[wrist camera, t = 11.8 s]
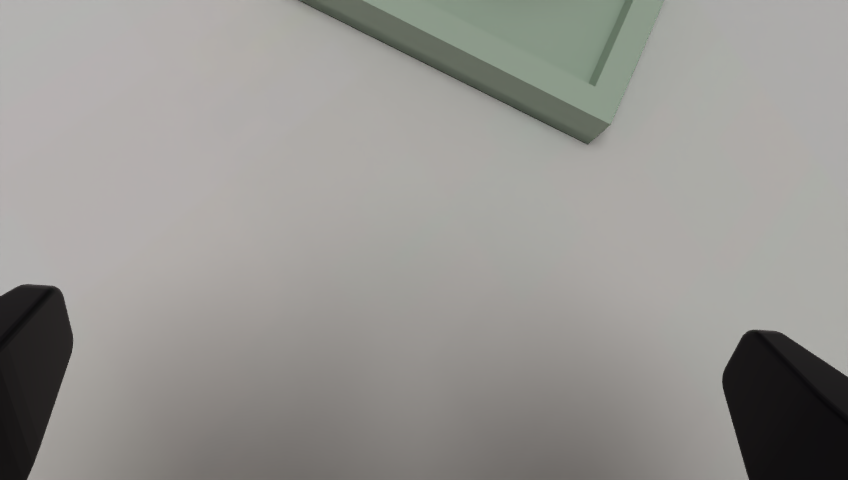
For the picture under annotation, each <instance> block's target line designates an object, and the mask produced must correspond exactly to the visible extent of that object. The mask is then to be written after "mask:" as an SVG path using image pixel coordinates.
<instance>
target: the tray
mask: <svg viewBox="0 0 848 480" xmlns="http://www.w3.org/2000/svg"><path fill="white" fill-rule="evenodd" d="M300 1H302V2H304V3H306V4H308V5H310V6H312V7H314V8H316V9H318V10H320V11H322V12H324V13H326V14H328V15H330V16H332V17H334V18H336V19H338V20H340V21H342V22H344V23H346V24H348V25H350V26H352V27H354V28H356V29H358V30H360V31H362V32H364V33H366V34H368V35H370V36H372V37H374V38H376V39H378V40H380V41H382V42H384V43H386V44H388V45H390V46H392V47H394V48H396V49H398V50H400V51H402V52H404V53H406V54H408V55H410V56H412V57H414V58H416V59H418V60H420V61H422V62H424V63H426V64H428V65H430V66H432V67H434V68H436V69H438V70H440V71H442V72H444V73H446V74H448V75H450V76H452V77H454V78H456V79H458V80H460V81H462V82H464V83H466V84H468V85H470V86H472V87H474V88H476V89H478V90H480V91H482V92H484V93H486V94H488V95H490V96H492V97H494V98H496V99H498V100H500V101H502V102H504V103H506V104H508V105H510V106H512V107H514V108H516V109H518V110H520V111H522V112H524V113H526V114H528V115H530V116H532V117H534V118H536V119H538V120H540V121H542V122H544V123H546V124H548V125H550V126H552V127H554V128H556V129H558V130H560V131H562V132H564V133H566V134H568V135H570V136H572V137H574V138H576V139H578V140H580V141H582V142H584V143H586V144H589V143H590V142H591V141H592V140H593V139H595V138H596V137H597V136H598V135H599V134H600V133H601V132H603V131H604V130H605V129H606V128H607V127H608V126H610V125H611V122H612V120H613V118H614V115H615V113H616V111H617V109H618V106H619V104H620V102H621V99H622V97H623V95H624V92H625V90H626V88H627V85H628V83H629V81H630V78H631V76H632V74H633V71H634V69H635V67H636V64H637V62H638V60H639V57H640V55H641V53H642V51H643V48H644V46H645V44H646V41H647V39H648V37H649V34H650V32H651V30H652V27H653V25H654V23H655V20H656V18H657V16H658V13H659V11H660V9H661V6H662V4H663V2H664V0H300Z"/></svg>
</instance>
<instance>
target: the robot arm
mask: <svg viewBox="0 0 848 480" xmlns="http://www.w3.org/2000/svg"><path fill="white" fill-rule="evenodd" d="M72 348H73V334H72V330H71V325H70V321H69V317H68V313H67V309H66V305H65V301H64V297H63V294H62V292H61V291H60V289H58V288H57V287H55V286H47V285H32V284H26V285H20V286H18V287H16V288H14V289H12V290H11V291H9V292H7V293H5V294H4V295H2V296H0V480H27V478H28V476H29V474H30V471H31V469H32V467H33V464H34V462H35V459H36V456H37V454H38V451H39V448H40V445H41V442H42V440H43V437H44V434H45V431H46V428H47V425H48V422H49V419H50V416H51V413H52V410H53V407H54V404H55V401H56V398H57V395H58V392H59V389H60V386H61V383H62V380H63V377H64V374H65V371H66V368H67V365H68V362H69V359H70V356H71V353H72ZM722 384H723V390H724V394H725V397H726V401H727V404H728V408H729V412H730V415H731V419H732V422H733V426H734V429H735V433H736V436H737V440H738V443H739V447H740V450H741V454H742V457H743V461H744V464H745V468H746V472H747V475H748V478H749V480H848V377H847V376H846V375H844V374H843V373H841V372H840V371H838V370H837V369H835V368H834V367H832V366H831V365H829V364H828V363H826V362H825V361H823V360H822V359H820V358H819V357H817V356H816V355H814V354H813V353H811V352H810V351H808V350H807V349H805V348H804V347H802V346H801V345H799V344H798V343H796V342H795V341H793V340H792V339H790V338H789V337H787V336H786V335H784V334H782V333H780V332H777V331H767V330H750V331H748V332H746V333H745V334H744V335H743V336H742V338H741V340H740V342H739V343H738V345H737V347H736V349H735V351H734V353H733V355H732V356H731V358H730V360H729V362H728V364H727V366H726V367H725V370H724V373H723V378H722Z"/></svg>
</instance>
